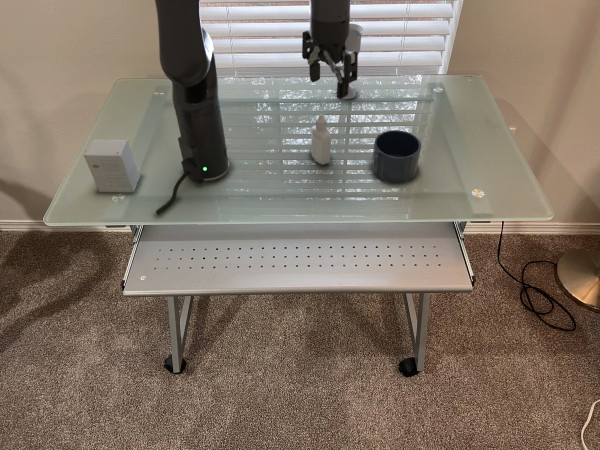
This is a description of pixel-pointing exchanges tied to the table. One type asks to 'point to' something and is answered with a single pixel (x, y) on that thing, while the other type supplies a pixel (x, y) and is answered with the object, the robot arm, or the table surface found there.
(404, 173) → the dark blue round container
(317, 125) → the eye dropper bottle
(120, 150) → the small box
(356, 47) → the chalice
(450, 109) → the table surface
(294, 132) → the table surface
